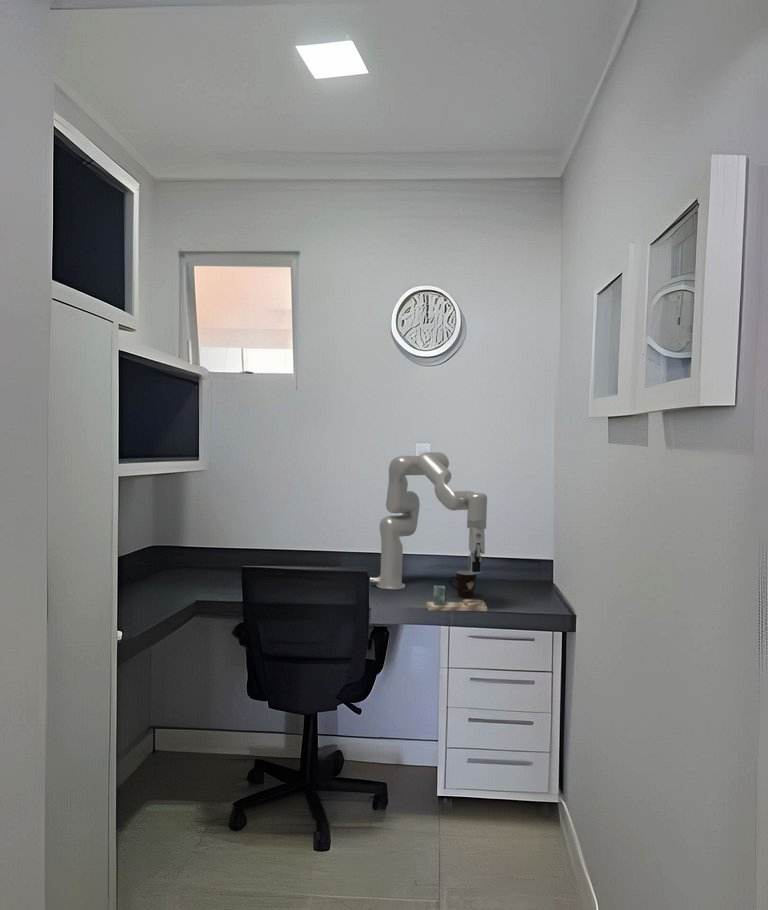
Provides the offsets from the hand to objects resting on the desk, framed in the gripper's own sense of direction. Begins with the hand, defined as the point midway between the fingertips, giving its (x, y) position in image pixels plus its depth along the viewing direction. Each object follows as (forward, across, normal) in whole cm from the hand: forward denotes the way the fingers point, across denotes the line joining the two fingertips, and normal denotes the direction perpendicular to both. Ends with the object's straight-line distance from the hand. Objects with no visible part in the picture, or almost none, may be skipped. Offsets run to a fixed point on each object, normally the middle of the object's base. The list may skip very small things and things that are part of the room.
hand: (475, 570), depth 318 cm
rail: (+15, 0, +7) cm, 17 cm away
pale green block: (+1, 0, 0) cm, 1 cm away
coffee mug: (+16, +23, +1) cm, 28 cm away
